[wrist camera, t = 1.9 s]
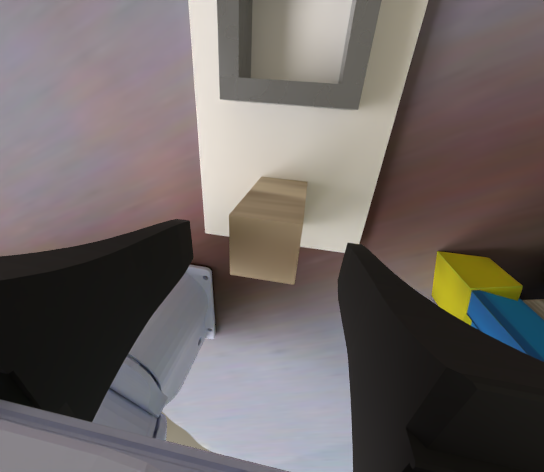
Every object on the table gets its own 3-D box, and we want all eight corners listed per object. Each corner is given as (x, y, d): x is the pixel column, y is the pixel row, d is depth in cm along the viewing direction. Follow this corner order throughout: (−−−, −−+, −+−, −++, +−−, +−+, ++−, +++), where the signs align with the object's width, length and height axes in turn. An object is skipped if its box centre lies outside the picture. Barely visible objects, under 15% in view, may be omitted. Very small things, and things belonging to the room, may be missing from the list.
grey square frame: (351, 110, 14) (358, 109, 11) (234, 101, 14) (219, 99, 12) (387, -71, 10) (407, -120, 8) (233, -70, 11) (213, -115, 9)
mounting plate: (354, 248, 19) (356, 254, 18) (210, 228, 20) (205, 233, 19) (442, -73, 11) (453, -89, 10) (191, -71, 12) (182, -85, 11)
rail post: (301, 224, 17) (294, 284, 11) (259, 218, 18) (230, 274, 12) (307, 181, 16) (303, 224, 10) (261, 176, 16) (229, 215, 10)
